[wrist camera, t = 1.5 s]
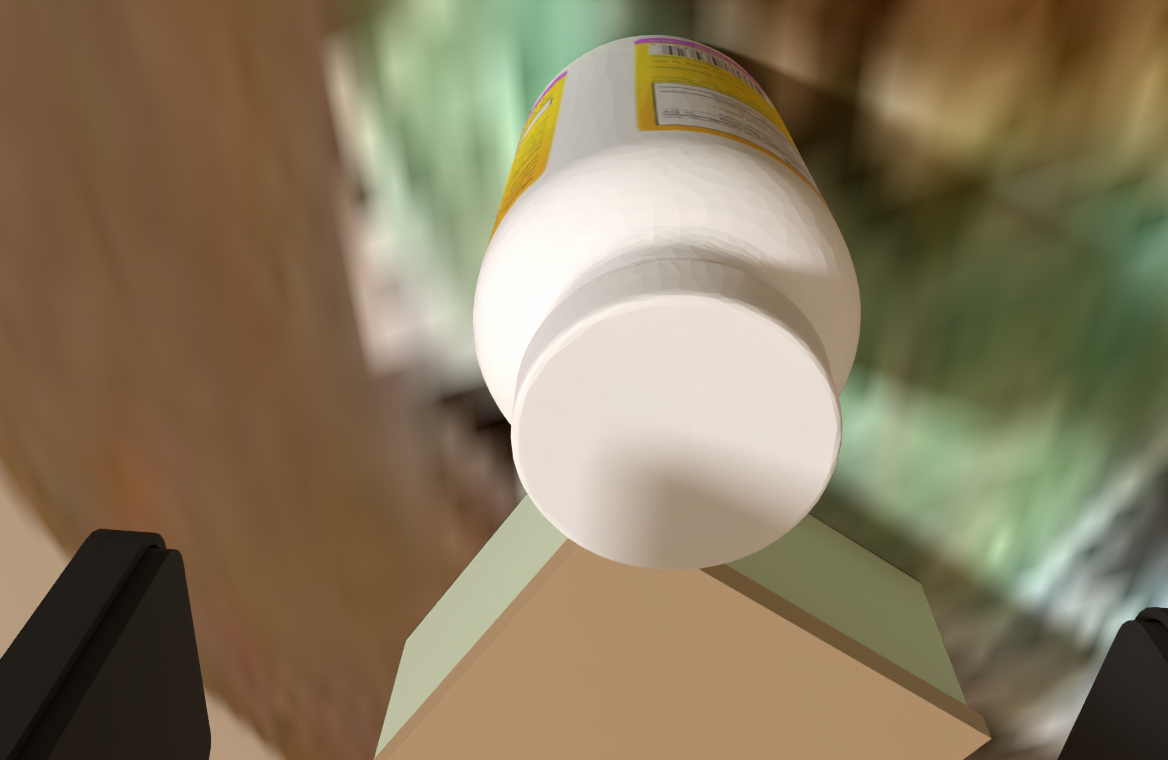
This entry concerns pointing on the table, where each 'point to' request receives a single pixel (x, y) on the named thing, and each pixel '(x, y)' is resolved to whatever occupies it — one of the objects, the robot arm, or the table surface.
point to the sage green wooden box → (678, 658)
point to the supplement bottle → (666, 310)
